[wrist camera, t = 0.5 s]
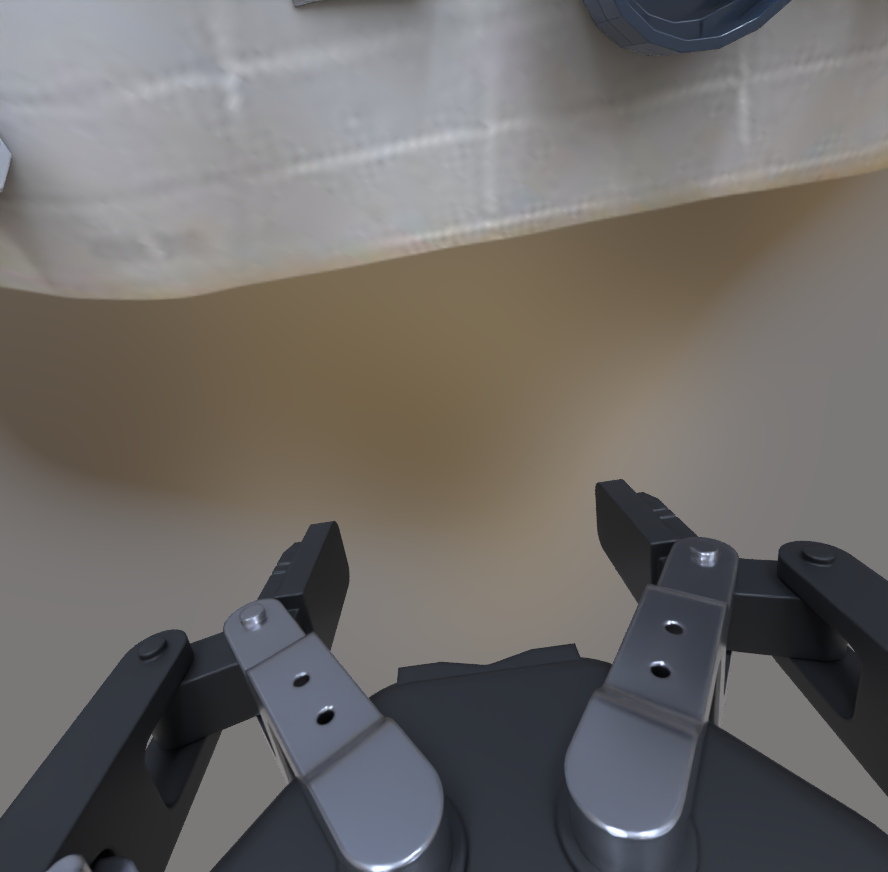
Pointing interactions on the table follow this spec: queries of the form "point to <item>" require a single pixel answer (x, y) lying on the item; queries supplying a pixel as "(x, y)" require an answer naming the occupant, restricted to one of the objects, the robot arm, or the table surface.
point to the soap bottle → (4, 164)
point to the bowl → (679, 22)
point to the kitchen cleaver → (303, 2)
